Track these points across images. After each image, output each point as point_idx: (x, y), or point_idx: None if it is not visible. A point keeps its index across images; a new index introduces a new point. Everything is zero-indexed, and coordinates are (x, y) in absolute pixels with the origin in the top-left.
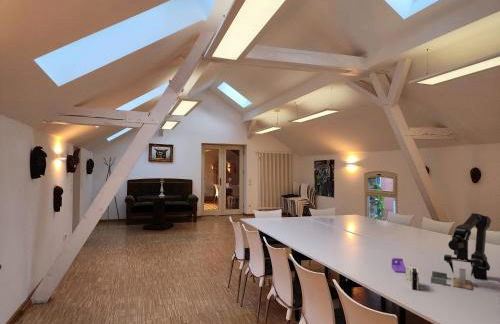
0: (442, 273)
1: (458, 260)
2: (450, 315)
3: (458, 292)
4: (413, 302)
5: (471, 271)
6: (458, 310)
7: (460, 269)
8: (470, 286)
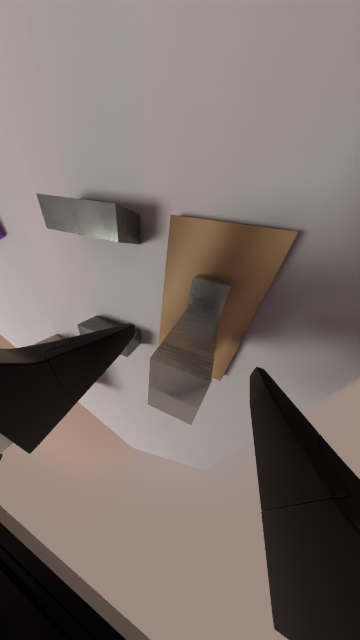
0: (94, 232)
1: (13, 556)
2: (147, 447)
3: None
4: (104, 417)
5: (263, 418)
6: (158, 443)
7: (156, 389)
8: (224, 361)
